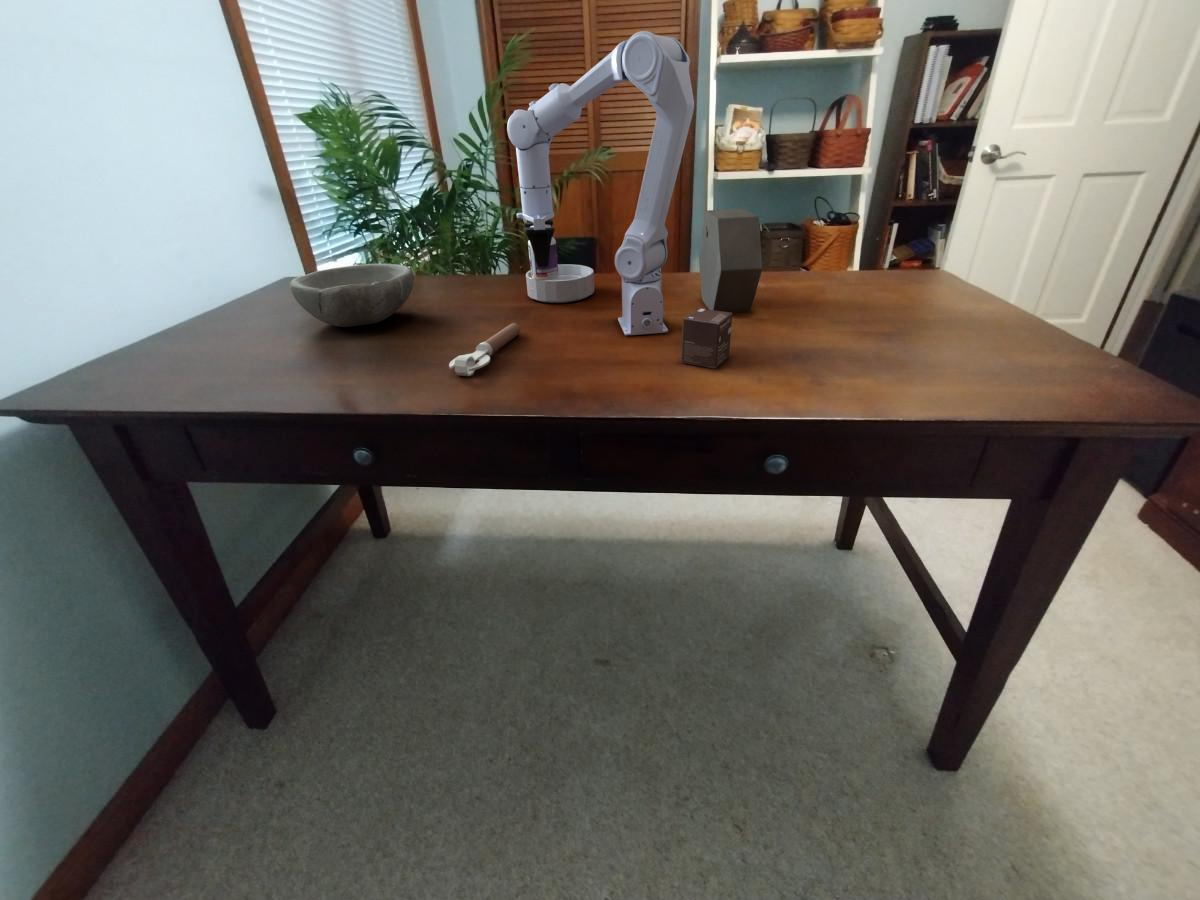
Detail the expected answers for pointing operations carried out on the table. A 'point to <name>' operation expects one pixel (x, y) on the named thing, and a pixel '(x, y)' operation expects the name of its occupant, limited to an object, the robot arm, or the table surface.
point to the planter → (730, 260)
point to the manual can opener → (483, 351)
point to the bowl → (354, 293)
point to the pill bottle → (547, 271)
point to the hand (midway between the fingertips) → (542, 262)
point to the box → (706, 338)
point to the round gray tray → (563, 285)
